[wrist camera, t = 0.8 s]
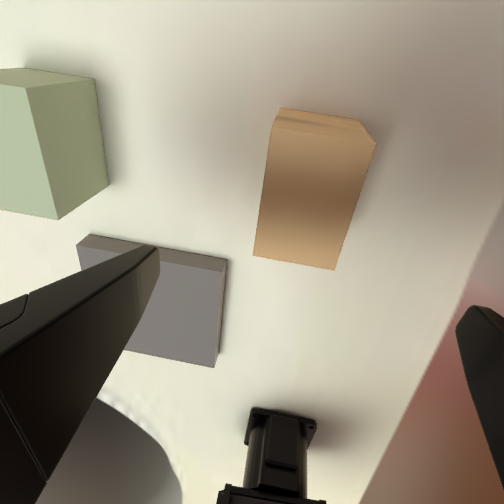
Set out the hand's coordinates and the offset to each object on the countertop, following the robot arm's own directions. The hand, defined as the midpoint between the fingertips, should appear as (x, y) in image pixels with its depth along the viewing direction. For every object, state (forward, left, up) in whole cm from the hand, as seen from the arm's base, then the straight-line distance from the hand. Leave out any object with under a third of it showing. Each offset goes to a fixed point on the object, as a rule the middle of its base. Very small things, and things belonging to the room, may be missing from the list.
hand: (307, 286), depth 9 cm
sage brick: (0, +14, -10) cm, 17 cm away
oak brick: (0, 0, -10) cm, 10 cm away
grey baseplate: (-12, +9, -10) cm, 18 cm away
